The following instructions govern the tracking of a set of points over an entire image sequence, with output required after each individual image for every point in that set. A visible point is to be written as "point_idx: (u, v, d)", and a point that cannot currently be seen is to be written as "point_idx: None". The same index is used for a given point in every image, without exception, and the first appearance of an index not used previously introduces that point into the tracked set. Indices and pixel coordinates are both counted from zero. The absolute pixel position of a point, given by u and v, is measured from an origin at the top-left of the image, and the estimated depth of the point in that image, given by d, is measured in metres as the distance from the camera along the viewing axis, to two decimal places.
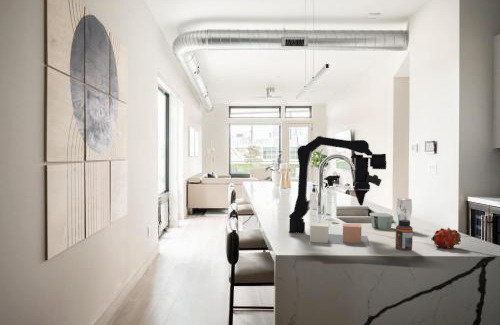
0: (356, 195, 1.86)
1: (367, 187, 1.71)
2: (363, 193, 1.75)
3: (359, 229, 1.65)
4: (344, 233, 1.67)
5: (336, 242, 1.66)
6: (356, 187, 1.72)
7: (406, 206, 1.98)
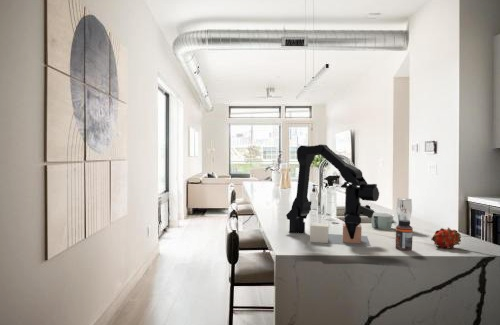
0: None
1: (358, 220, 1.60)
2: (354, 226, 1.64)
3: (359, 229, 1.65)
4: (344, 233, 1.67)
5: (336, 242, 1.66)
6: (346, 220, 1.61)
7: (406, 206, 1.98)
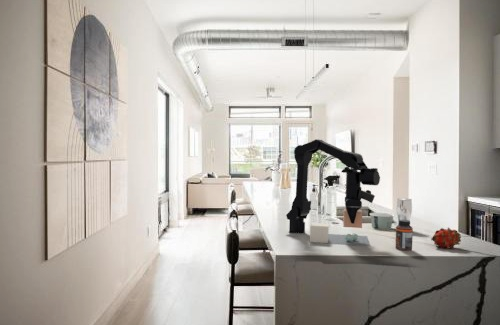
0: None
1: (359, 204, 1.60)
2: (355, 210, 1.64)
3: (360, 214, 1.65)
4: (345, 218, 1.66)
5: (336, 242, 1.66)
6: (347, 204, 1.61)
7: (406, 206, 1.98)
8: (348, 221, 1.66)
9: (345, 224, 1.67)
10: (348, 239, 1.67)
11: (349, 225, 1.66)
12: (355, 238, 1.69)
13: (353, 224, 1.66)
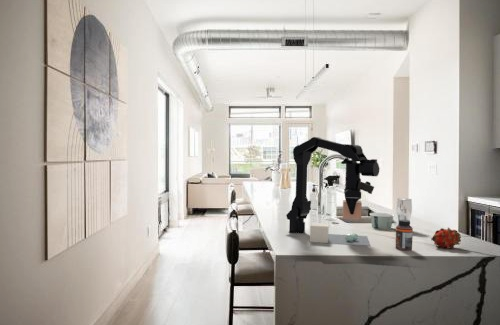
0: None
1: (358, 195, 1.60)
2: (354, 201, 1.64)
3: (359, 205, 1.66)
4: (344, 209, 1.67)
5: (336, 242, 1.66)
6: (346, 195, 1.61)
7: (406, 206, 1.98)
8: (347, 212, 1.67)
9: (344, 215, 1.67)
10: (348, 239, 1.67)
11: (348, 216, 1.67)
12: (355, 238, 1.69)
13: (352, 215, 1.66)
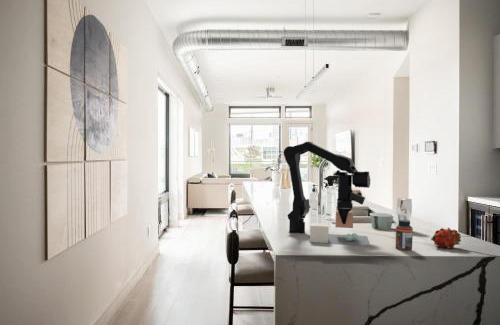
0: None
1: (349, 206, 1.68)
2: (346, 211, 1.73)
3: (351, 215, 1.74)
4: (337, 218, 1.75)
5: (336, 242, 1.66)
6: (338, 206, 1.69)
7: (406, 206, 1.98)
8: (340, 222, 1.75)
9: (337, 224, 1.75)
10: (348, 239, 1.67)
11: (341, 225, 1.75)
12: (355, 238, 1.69)
13: (344, 224, 1.74)
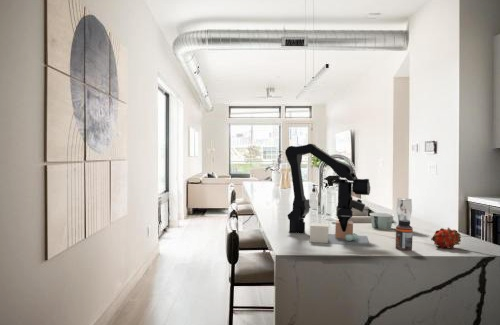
0: None
1: (349, 214, 1.68)
2: (346, 219, 1.72)
3: (351, 225, 1.74)
4: (336, 229, 1.75)
5: (336, 242, 1.66)
6: (338, 213, 1.69)
7: (406, 206, 1.98)
8: (340, 232, 1.75)
9: (337, 235, 1.75)
10: (348, 239, 1.67)
11: (340, 236, 1.75)
12: (355, 238, 1.69)
13: (344, 235, 1.75)
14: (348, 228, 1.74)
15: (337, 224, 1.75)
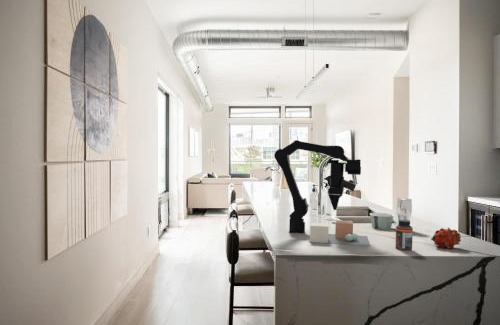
0: None
1: (340, 192, 1.75)
2: (337, 198, 1.78)
3: (351, 225, 1.74)
4: (336, 229, 1.75)
5: (336, 242, 1.66)
6: (329, 192, 1.76)
7: (406, 206, 1.98)
8: (340, 232, 1.75)
9: (337, 235, 1.75)
10: (348, 239, 1.67)
11: (340, 236, 1.75)
12: (355, 238, 1.69)
13: (344, 235, 1.75)
14: (348, 228, 1.74)
15: (337, 224, 1.75)
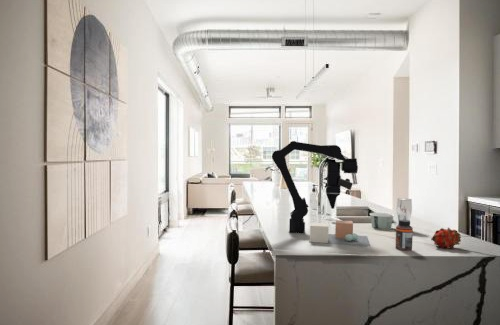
0: None
1: (337, 191, 1.77)
2: (334, 197, 1.81)
3: (351, 225, 1.74)
4: (336, 229, 1.75)
5: (336, 242, 1.66)
6: (327, 191, 1.78)
7: (406, 206, 1.98)
8: (340, 232, 1.75)
9: (337, 235, 1.75)
10: (348, 239, 1.67)
11: (340, 236, 1.75)
12: (355, 238, 1.69)
13: (344, 235, 1.75)
14: (348, 228, 1.74)
15: (337, 224, 1.75)
